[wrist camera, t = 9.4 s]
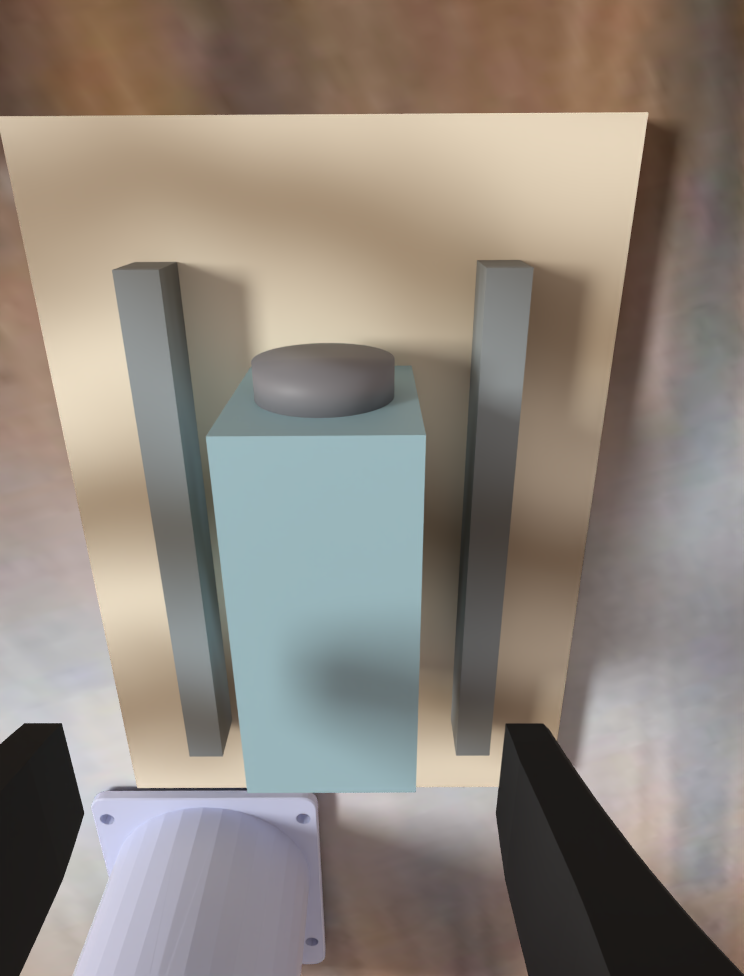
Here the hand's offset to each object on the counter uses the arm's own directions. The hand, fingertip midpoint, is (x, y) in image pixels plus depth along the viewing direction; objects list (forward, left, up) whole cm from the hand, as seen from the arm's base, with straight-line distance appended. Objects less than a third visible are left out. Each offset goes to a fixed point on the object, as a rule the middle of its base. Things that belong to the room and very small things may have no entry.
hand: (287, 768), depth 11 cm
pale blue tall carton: (0, 0, -8) cm, 8 cm away
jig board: (0, 0, -9) cm, 9 cm away
